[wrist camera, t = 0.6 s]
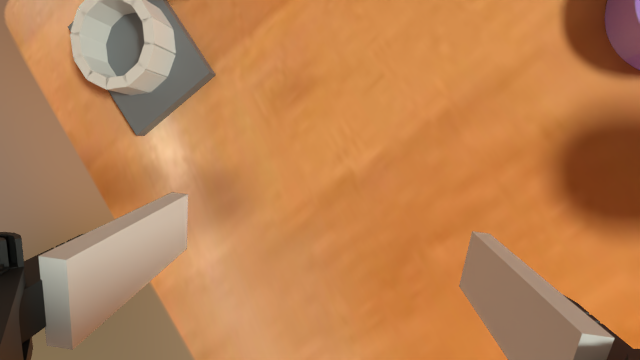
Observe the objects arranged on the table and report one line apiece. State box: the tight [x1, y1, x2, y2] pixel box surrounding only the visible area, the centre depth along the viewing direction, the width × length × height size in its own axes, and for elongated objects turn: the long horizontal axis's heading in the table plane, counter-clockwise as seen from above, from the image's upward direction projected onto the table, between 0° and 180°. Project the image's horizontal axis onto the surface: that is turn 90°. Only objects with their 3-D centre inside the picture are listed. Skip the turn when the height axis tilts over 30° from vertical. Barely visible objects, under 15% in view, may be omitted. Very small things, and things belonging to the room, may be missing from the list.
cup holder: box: [68, 0, 215, 136], centre depth 35 cm, size 12×16×4 cm
